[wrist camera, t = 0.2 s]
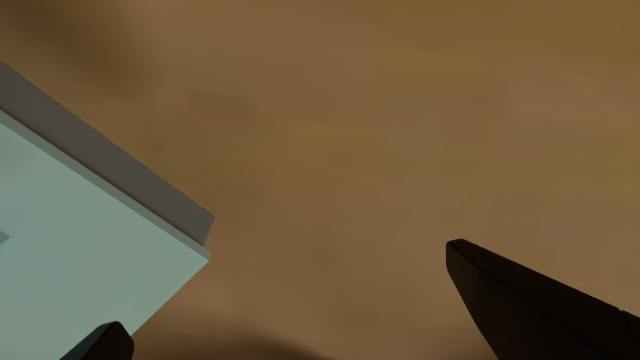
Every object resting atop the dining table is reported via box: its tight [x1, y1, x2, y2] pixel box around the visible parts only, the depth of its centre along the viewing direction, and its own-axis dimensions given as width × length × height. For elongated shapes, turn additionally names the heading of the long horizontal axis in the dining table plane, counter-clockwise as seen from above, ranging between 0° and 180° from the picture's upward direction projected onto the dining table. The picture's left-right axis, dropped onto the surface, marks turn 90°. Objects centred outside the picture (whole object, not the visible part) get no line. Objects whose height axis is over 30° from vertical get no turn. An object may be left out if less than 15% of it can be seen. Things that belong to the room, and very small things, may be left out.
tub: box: [0, 61, 215, 246], centre depth 19 cm, size 18×14×4 cm
